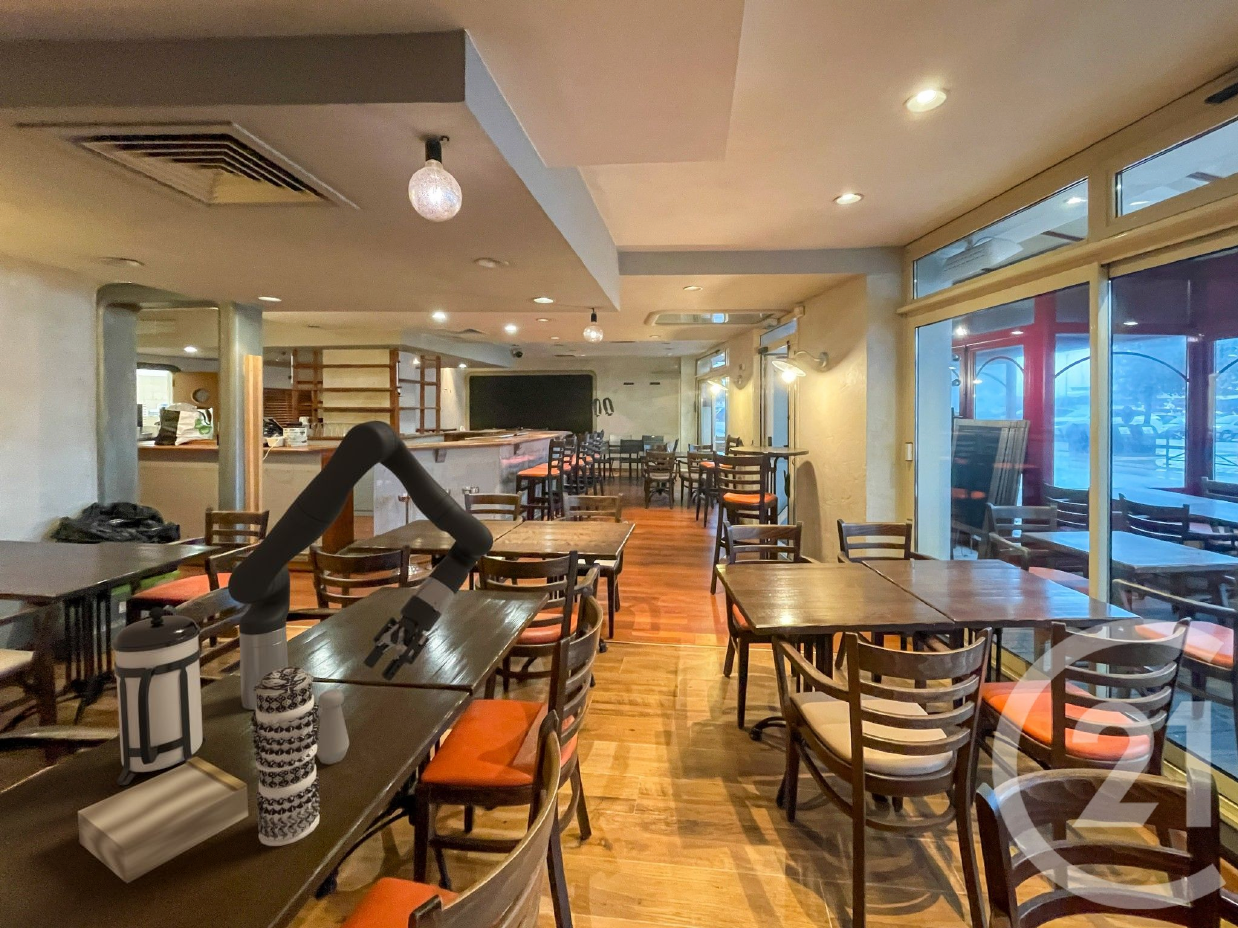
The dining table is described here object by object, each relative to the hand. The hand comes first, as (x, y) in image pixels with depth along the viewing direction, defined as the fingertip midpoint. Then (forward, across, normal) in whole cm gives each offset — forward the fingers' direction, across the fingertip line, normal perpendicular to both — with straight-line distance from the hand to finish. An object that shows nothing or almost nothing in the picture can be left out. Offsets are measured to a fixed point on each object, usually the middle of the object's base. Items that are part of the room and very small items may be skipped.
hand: (376, 672), depth 115 cm
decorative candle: (+25, +15, -4) cm, 29 cm away
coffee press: (+32, -20, -12) cm, 40 cm away
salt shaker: (+16, 0, +4) cm, 17 cm away
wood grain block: (+34, +2, -14) cm, 37 cm away
